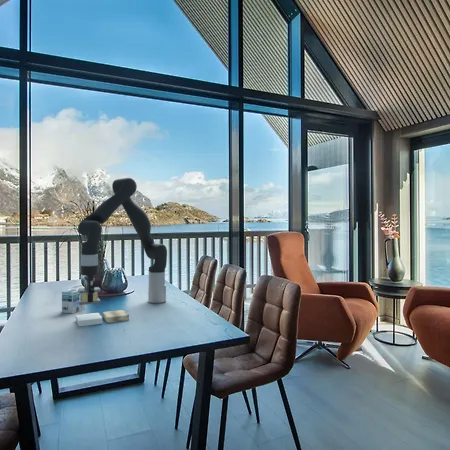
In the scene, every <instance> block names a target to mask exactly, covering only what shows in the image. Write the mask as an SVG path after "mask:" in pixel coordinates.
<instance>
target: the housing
mask: <svg viewBox="0 0 450 450" xmlns="http://www.w3.org/2000/svg"><path fill="white" fill-rule="evenodd" d="M78 288H79V289H78V292H79V294H80V293H81V300H78V303H79V305H85V306H86V305H95V304H101V299H100V298H99V295H98V293H101V291H102V290H101V288H100V287H99V286H94V294H93V302H88V294H87V292H88V290H87V289H86V288H85V287H78ZM90 291H92V289H90Z"/></svg>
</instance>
